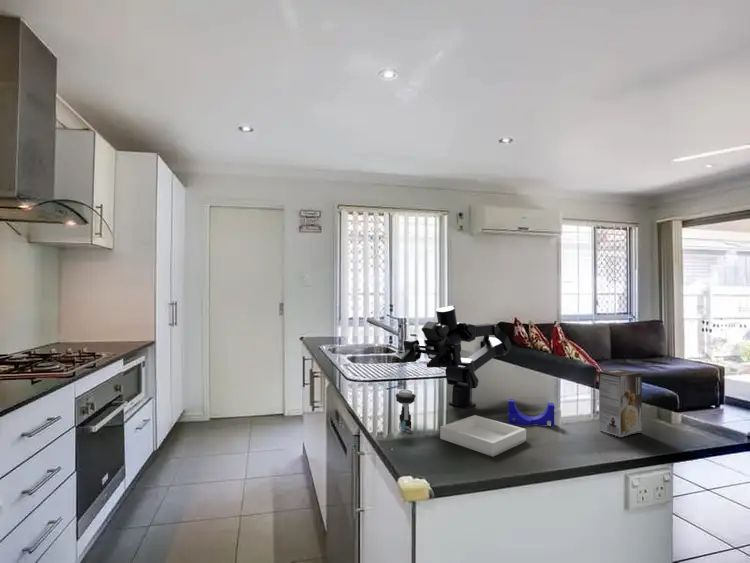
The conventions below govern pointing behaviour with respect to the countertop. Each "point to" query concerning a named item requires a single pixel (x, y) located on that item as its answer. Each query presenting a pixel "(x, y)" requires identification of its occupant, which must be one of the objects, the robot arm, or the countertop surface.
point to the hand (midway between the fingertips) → (414, 363)
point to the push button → (405, 408)
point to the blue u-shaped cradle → (527, 420)
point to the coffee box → (620, 401)
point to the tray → (483, 435)
